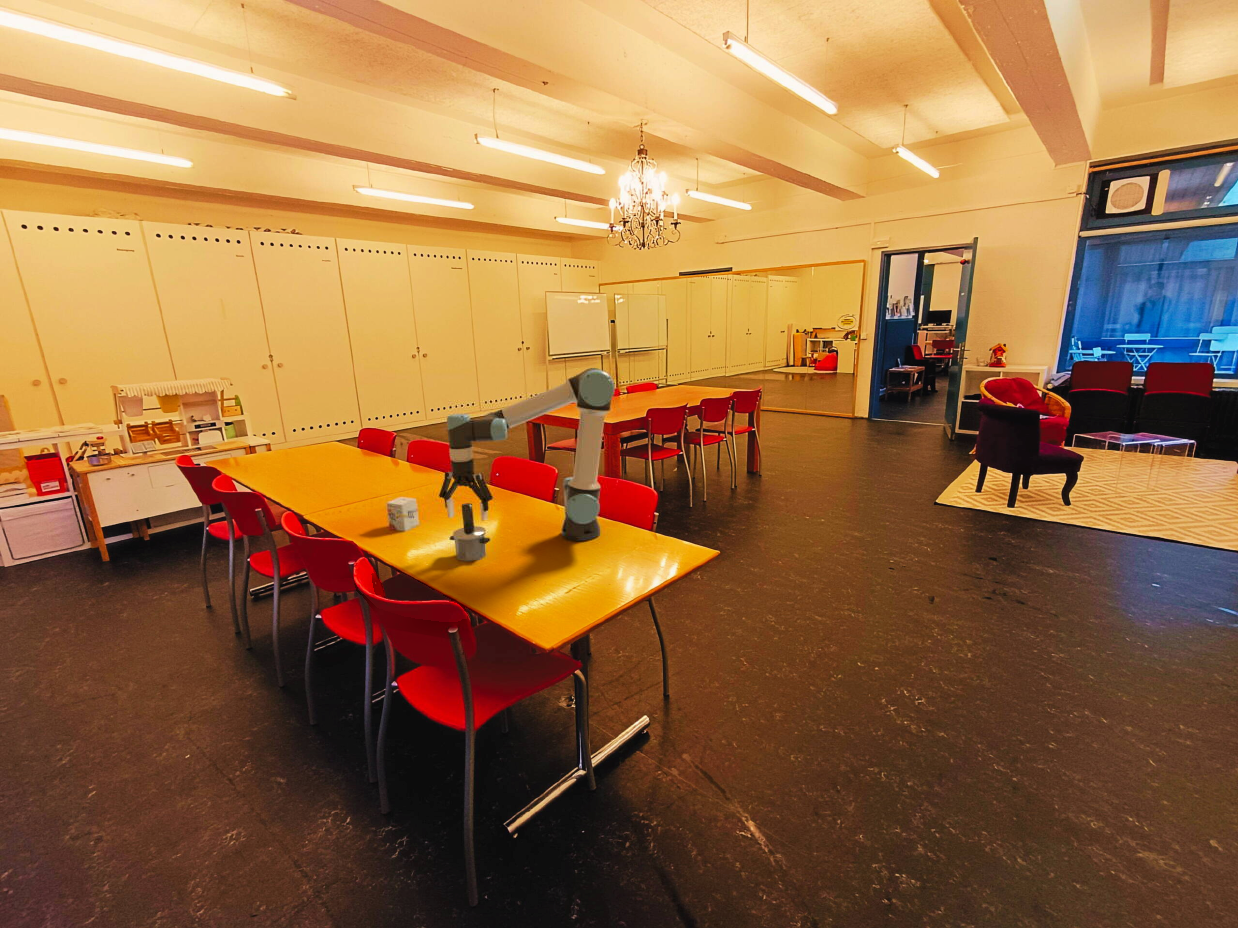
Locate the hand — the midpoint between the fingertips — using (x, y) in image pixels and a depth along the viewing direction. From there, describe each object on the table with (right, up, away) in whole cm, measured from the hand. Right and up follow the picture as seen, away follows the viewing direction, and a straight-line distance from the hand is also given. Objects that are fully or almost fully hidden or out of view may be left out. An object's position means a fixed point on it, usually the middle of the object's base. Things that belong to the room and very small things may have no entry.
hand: (467, 518), depth 189 cm
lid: (0, -6, +1) cm, 6 cm away
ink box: (-36, -7, +35) cm, 51 cm away
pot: (0, -14, +3) cm, 14 cm away
